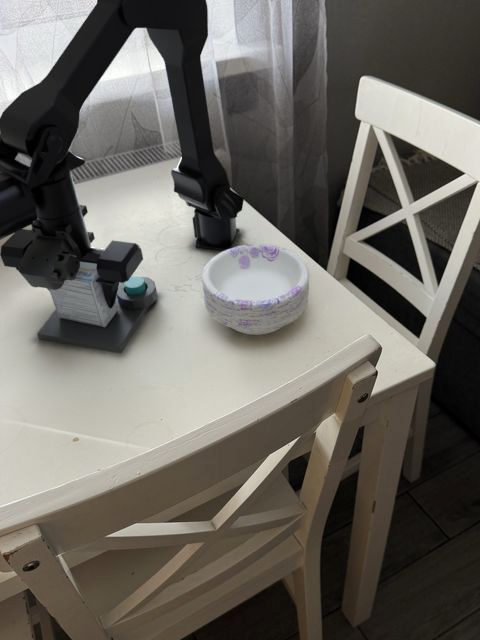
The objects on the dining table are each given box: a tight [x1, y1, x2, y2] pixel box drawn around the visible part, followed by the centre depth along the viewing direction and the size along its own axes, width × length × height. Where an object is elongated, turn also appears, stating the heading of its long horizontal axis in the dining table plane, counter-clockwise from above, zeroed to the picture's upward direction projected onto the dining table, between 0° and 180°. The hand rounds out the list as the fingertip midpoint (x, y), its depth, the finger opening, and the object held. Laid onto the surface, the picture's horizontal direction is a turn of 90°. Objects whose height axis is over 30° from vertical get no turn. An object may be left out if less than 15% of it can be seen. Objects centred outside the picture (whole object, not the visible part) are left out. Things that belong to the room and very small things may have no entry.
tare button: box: [124, 275, 146, 296], centre depth 90 cm, size 3×3×2 cm
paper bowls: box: [201, 243, 310, 336], centre depth 86 cm, size 15×15×8 cm
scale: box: [36, 275, 158, 354], centre depth 89 cm, size 14×14×3 cm
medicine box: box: [48, 262, 119, 327], centre depth 85 cm, size 8×4×9 cm, turn 71°
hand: (85, 302), depth 87 cm, fingers closed on medicine box, 8 cm apart
